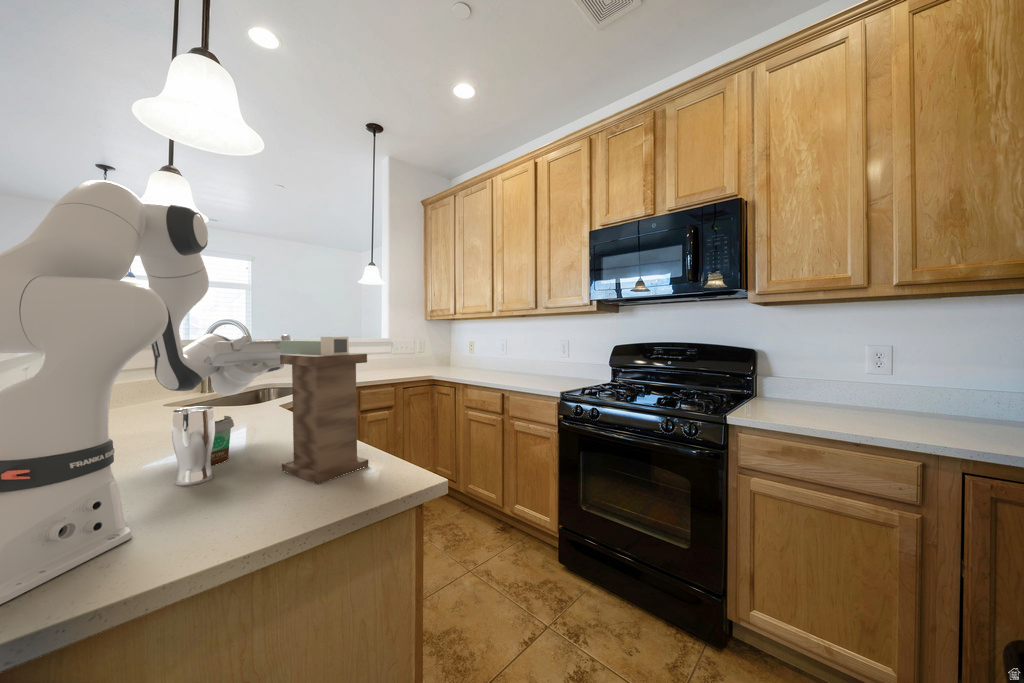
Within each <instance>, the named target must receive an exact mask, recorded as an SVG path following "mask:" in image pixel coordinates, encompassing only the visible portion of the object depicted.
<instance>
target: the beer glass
mask: <svg viewBox="0 0 1024 683" xmlns="http://www.w3.org/2000/svg"><path fill="white" fill-rule="evenodd" d="M171 413H172V417H171V428H170V429H171V441H172V446H173V450H174V454H175V457H176V462H177V473H176V478H175V485H176V486H178V487H179V486H180V487H185V486H187V487H188V486H194V485H200V484H202V483H206V482H208V481H210V480H212V479H213V478H214V471H213V468H212V467H213V466H211V453H212V447H213V442H214V436H215V420H216V419H215V412H214V407H213V406H209V405H208V406H207V405H205V406H204V405H203V406H190V407H183V408H177V409H174V410H173V411H171Z"/></svg>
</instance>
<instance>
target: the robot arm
mask: <svg viewBox="0 0 1024 683" xmlns="http://www.w3.org/2000/svg"><path fill="white" fill-rule="evenodd" d="M208 238H209V232H208V226H207V225H206V222H205V220H204V218H203V216H202V215H201V213H199V212H198V211H196V210H195V209H194V208H193V207H190V206H187V205H182V204H178V203H171V204H166V203H161V202H153V201H152V202H151V201H142V200H141V199H140V198H139V196H138V195H137V194H135V192H133V191H132V190H130V189H129V188H127V187H125V186H123V185H121V184H118V183H116V182H112V181H108V180H102V179H101V180H100V179H96V180H88V181H85V182H82V183H80V184H78V185H77V186H74V187H73V188H72V189H70V190H69V191H68V192H66V193H65V195H63V196H62V197H61V198H60V199H59V200H58V201H57V202H56V203H55V204H53V206H52V208H51V209H50V210H49V212H48V213H47V215H46V216H45V217H44V218H43V220H42V221H41V222H40V223H39V224H38V225H37V226H36V228H35V230H33V231H32V233H31V234H30V235H29V236H28V237H27V238H25V239H23V241H21V242H20V243H18V244H16V245H14V246H13V247H10V248H8V249H6V250H4V251H2V252H0V354H29V353H32V354H33V353H34V354H35V353H38V354H39V353H44V359H43V360H44V361H43V362H42V365H41V367H40V369H39V370H38V372H37V373H36V374H35V375H33V376H31V377H29V378H25V379H23V380H21V381H17V382H16V383H13V384H11V385H9V386H7V387H4V388H3V389H2V390H0V605H2V604H4V603H6V602H8V601H11V600H13V599H14V598H16V597H18V596H20V595H22V594H24V593H25V592H28V591H29V590H32V589H34V588H36V587H38V586H40V585H42V584H44V583H46V582H48V581H50V580H51V579H52V580H53V578H55V577H57V576H59V575H61V574H64V573H65V572H67V571H70V570H72V569H73V568H76V567H77V566H79V565H81V564H83V563H85V562H87V561H89V560H91V559H93V558H95V557H96V556H99V555H101V554H103V553H105V552H106V551H109V550H111V549H113V548H114V547H116V546H119V545H120V544H122V543H125V542H126V541H128V540H131V538H132V537H133V533H132V530H131V528H129V527H128V525H127V522H126V520H125V516H124V511H123V503H122V498H121V493H120V488H119V484H118V482H117V480H116V479H115V477H114V476H115V475H113V471H112V468H111V465H112V464H113V463H114V462H115V447H114V441H113V439H111V438H110V435H109V434H110V431H109V430H110V429H109V428H110V426H109V423H110V420H109V419H110V403H111V394H112V390H113V386H114V384H115V382H116V380H117V378H118V376H119V375H120V373H121V371H122V370H123V368H125V366H126V365H127V364H128V363H129V362H130V361H131V360H132V359H133V358H134V357H135V356H137V354H139V353H140V352H142V351H143V350H144V349H146V348H148V347H151V349H152V353H153V354H152V355H153V359H154V360H153V361H154V366H153V367H154V369H153V370H154V375H155V379H156V381H157V382H158V383H159V384H160V385H161V386H162V387H163V388H165V389H167V390H170V391H172V392H188V391H193V390H194V389H195V388H197V387H198V386H200V384H202V383H203V381H205V380H206V379H207V378H210V380H211V381H210V382H211V384H210V385H211V388H212V390H213V392H215V393H216V394H218V395H222V396H233V395H238V394H239V393H241V392H243V391H244V390H245V389H246V388H247V387H249V386H250V385H251V384H252V382H253V381H254V380H255V379H256V378H257V377H258V376H262V375H263V374H267V373H271V372H274V371H279V370H282V369H283V368H284V367H285V364H280V355H287V354H293V353H281V341H292V340H293V339H291V336H290V334H282V335H281V336H280V339H275V340H274V339H272V340H271V339H269V340H267V339H265V340H253V339H252V336H251V335H249V334H244V335H242V336H241V337H240V338H237V339H235V340H231V339H229V338H228V337H226V336H223V335H220V334H218V333H217V334H216V333H206V334H204V335H201V336H200V337H198V338H196V339H194V340H193V341H192V342H190V343H189V344H186V345H185V346H184V347H183V344H182V340H181V335H180V327H181V324H182V321H183V320H184V318H185V317H186V315H188V313H189V312H190V311H191V310H192V309H193V308H194V307H195V306H196V305H197V304H198V303H199V302H200V301H201V300H202V299H203V298H204V297H205V296H206V294H207V293H208V290H209V284H210V282H209V275H208V272H207V268H206V265H205V262H204V261H203V258H202V254H201V252H202V251H204V249H205V248H207V245H208ZM136 256H139V258H140V260H141V264H142V267H143V268H144V271H145V274H146V277H147V280H148V286H147V285H145V284H139V283H136V282H135V283H133V282H129V281H124V280H122V279H123V278H124V277H126V275H128V272H129V271H130V268H131V267H132V265H133V262H134V259H135V257H136Z"/></svg>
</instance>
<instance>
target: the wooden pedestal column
mask: <svg viewBox="0 0 1024 683" xmlns="http://www.w3.org/2000/svg"><path fill="white" fill-rule="evenodd" d="M366 363H368V354H367V353H360V352H359V353H355V352H354V353H351V352H349V355H332V356H331V355H315V354H287V355H280V364H284V365H291V372H292V373H291V376H292V377H291V381H292V385H291V386H292V390H291V391H292V430H293V432H292V434H293V435H292V436H293V437H292V438H293V441H292V442H293V460H291V461H288V462H283V463H281V470H282V471H281V472H283V471H285V472H284V473H286V472H288V473H287V474H289V473H290V474H289V475H291V474H293V475H292V476H294V475H296V476H295V477H297V476H298V477H297V478H299V477H301V478H300V479H302V478H303V480H305V479H306V480H305V481H308V480H309V481H308V482H310V481H311V482H310V483H313V482H314V483H313V484H316V483H317V484H316V485H319V483H320V484H323V483H325V481H326V482H328V480H329V481H331V480H330V479H332V480H334V479H336V478H335V477H337V478H339V477H338V476H340V477H342V476H341V475H343V474H346V473H349V472H351V473H353V472H352V471H354V472H356V471H355V470H357V469H360V468H363V467H366V466H368V467H369V459H368V458H364V457H362V456H358V430H357V429H358V427H357V426H358V425H357V424H358V420H357V419H358V418H357V417H358V415H357V411H358V409H357V364H366ZM366 468H367V467H366ZM363 469H364V468H363ZM360 470H361V469H360ZM357 471H358V470H357ZM349 474H350V473H349ZM346 475H347V474H346ZM343 476H344V475H343ZM333 478H334V479H333ZM322 482H323V483H322Z"/></svg>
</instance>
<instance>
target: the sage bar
mask: <svg viewBox="0 0 1024 683" xmlns="http://www.w3.org/2000/svg"><path fill="white" fill-rule="evenodd" d="M291 340H292V341H281V353H293V354H315V355H331V356H332V355H349V353H350V352H349V351H350V348H349V343H350V342H349V336H320V340H295V339H291Z"/></svg>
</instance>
